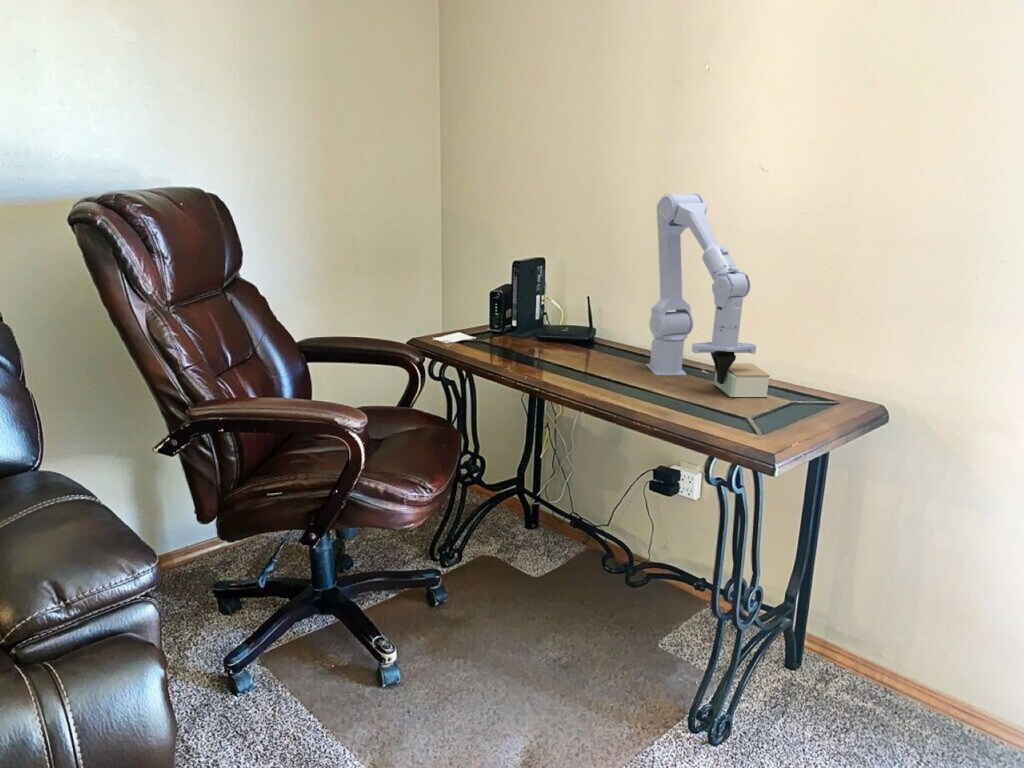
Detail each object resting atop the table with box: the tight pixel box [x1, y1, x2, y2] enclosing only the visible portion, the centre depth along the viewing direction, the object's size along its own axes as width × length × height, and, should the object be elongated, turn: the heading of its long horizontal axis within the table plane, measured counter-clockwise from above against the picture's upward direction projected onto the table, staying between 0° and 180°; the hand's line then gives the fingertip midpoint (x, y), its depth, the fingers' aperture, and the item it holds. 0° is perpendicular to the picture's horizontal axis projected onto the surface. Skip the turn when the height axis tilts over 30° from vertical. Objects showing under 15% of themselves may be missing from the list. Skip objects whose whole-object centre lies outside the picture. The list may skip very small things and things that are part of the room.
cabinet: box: [728, 362, 771, 397], centre depth 185 cm, size 10×8×6 cm
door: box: [712, 366, 736, 398], centre depth 185 cm, size 11×1×5 cm, turn 8°
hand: (720, 382), depth 183 cm, fingers closed
